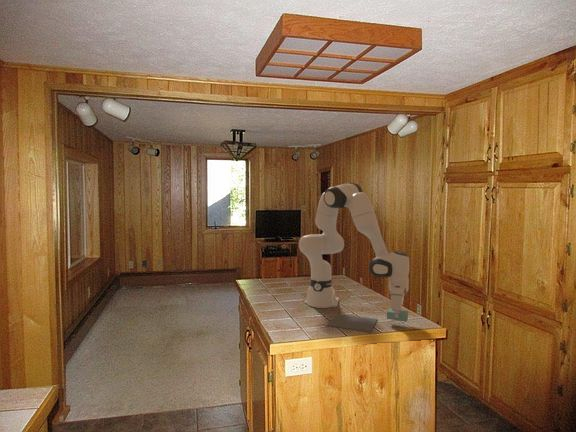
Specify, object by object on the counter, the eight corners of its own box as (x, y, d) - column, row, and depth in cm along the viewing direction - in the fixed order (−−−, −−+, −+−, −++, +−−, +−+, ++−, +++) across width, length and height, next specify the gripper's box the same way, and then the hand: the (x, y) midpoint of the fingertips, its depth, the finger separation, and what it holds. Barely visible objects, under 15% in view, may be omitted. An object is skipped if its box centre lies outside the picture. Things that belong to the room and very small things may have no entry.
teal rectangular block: (388, 315, 183) (388, 308, 183) (407, 318, 179) (408, 311, 179) (386, 318, 179) (387, 311, 179) (406, 321, 175) (407, 314, 175)
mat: (336, 314, 193) (336, 313, 193) (377, 320, 186) (377, 319, 186) (326, 325, 177) (326, 324, 177) (370, 332, 169) (370, 331, 169)
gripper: (394, 280, 189) (392, 308, 190) (389, 290, 170) (387, 321, 171) (407, 282, 186) (406, 309, 187) (403, 292, 167) (402, 323, 168)
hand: (397, 315), depth 179 cm, fingers closed on teal rectangular block, 5 cm apart
